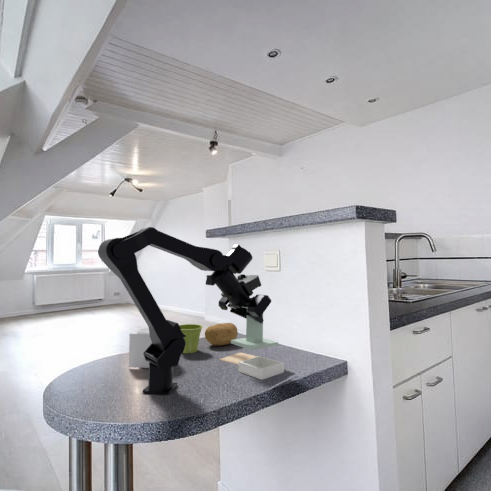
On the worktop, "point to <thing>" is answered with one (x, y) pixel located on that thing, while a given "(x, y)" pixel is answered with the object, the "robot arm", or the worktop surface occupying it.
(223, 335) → the potato
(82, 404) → the worktop surface
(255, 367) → the dish
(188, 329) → the plant pot
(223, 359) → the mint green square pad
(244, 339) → the mint green stamp
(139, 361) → the toilet tissue
